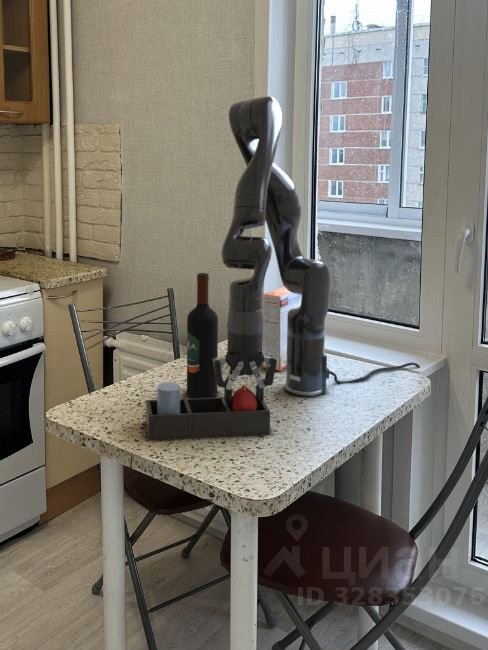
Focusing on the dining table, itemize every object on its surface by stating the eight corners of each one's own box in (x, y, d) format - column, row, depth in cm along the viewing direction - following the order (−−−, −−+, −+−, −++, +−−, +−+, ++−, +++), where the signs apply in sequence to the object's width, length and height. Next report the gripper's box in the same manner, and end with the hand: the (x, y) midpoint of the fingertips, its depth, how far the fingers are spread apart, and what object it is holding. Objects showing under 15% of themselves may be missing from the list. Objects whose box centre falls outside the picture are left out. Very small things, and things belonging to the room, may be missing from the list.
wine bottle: (214, 401, 161) (215, 277, 158) (183, 398, 162) (184, 276, 160) (219, 389, 168) (220, 271, 166) (189, 387, 170) (190, 270, 167)
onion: (228, 415, 149) (228, 379, 148) (254, 414, 149) (254, 379, 149) (232, 425, 143) (232, 389, 142) (259, 425, 144) (259, 388, 143)
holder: (259, 417, 151) (260, 395, 151) (269, 434, 142) (270, 411, 142) (145, 422, 148) (145, 400, 148) (148, 440, 139) (148, 416, 139)
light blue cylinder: (178, 422, 147) (178, 382, 146) (181, 431, 142) (181, 390, 141) (155, 423, 146) (156, 383, 146) (157, 432, 141) (157, 391, 141)
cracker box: (284, 355, 197) (285, 284, 195) (302, 359, 193) (304, 287, 191) (260, 367, 185) (261, 293, 183) (280, 372, 182) (281, 296, 180)
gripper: (215, 334, 140) (213, 412, 141) (282, 332, 142) (280, 409, 143) (209, 324, 147) (208, 399, 149) (273, 323, 149) (271, 396, 151)
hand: (243, 404), depth 146 cm, fingers closed on onion, 5 cm apart
